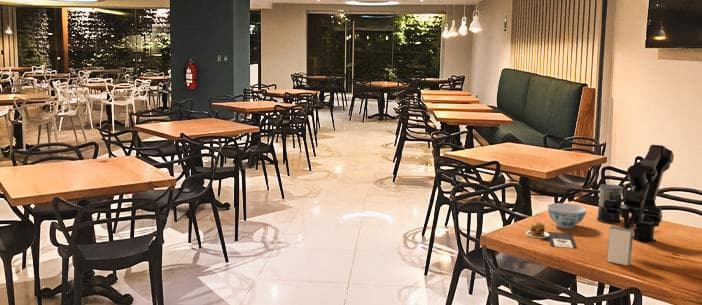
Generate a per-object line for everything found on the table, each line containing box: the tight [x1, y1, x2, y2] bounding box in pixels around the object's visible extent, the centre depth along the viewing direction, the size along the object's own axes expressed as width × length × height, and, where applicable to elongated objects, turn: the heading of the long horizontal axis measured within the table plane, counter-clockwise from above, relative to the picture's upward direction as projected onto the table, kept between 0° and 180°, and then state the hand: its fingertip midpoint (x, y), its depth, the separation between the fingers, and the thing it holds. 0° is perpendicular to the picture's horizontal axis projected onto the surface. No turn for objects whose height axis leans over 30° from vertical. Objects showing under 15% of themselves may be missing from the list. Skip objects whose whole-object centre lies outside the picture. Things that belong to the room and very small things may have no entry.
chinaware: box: [547, 202, 587, 230], centre depth 259 cm, size 15×15×8 cm
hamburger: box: [525, 221, 550, 243], centre depth 247 cm, size 12×12×6 cm
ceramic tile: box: [606, 225, 634, 267], centre depth 216 cm, size 3×7×12 cm, turn 52°
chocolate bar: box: [547, 231, 578, 249], centre depth 241 cm, size 9×1×18 cm
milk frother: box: [596, 183, 624, 224], centre depth 267 cm, size 14×16×15 cm
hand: (626, 230), depth 221 cm, fingers closed
